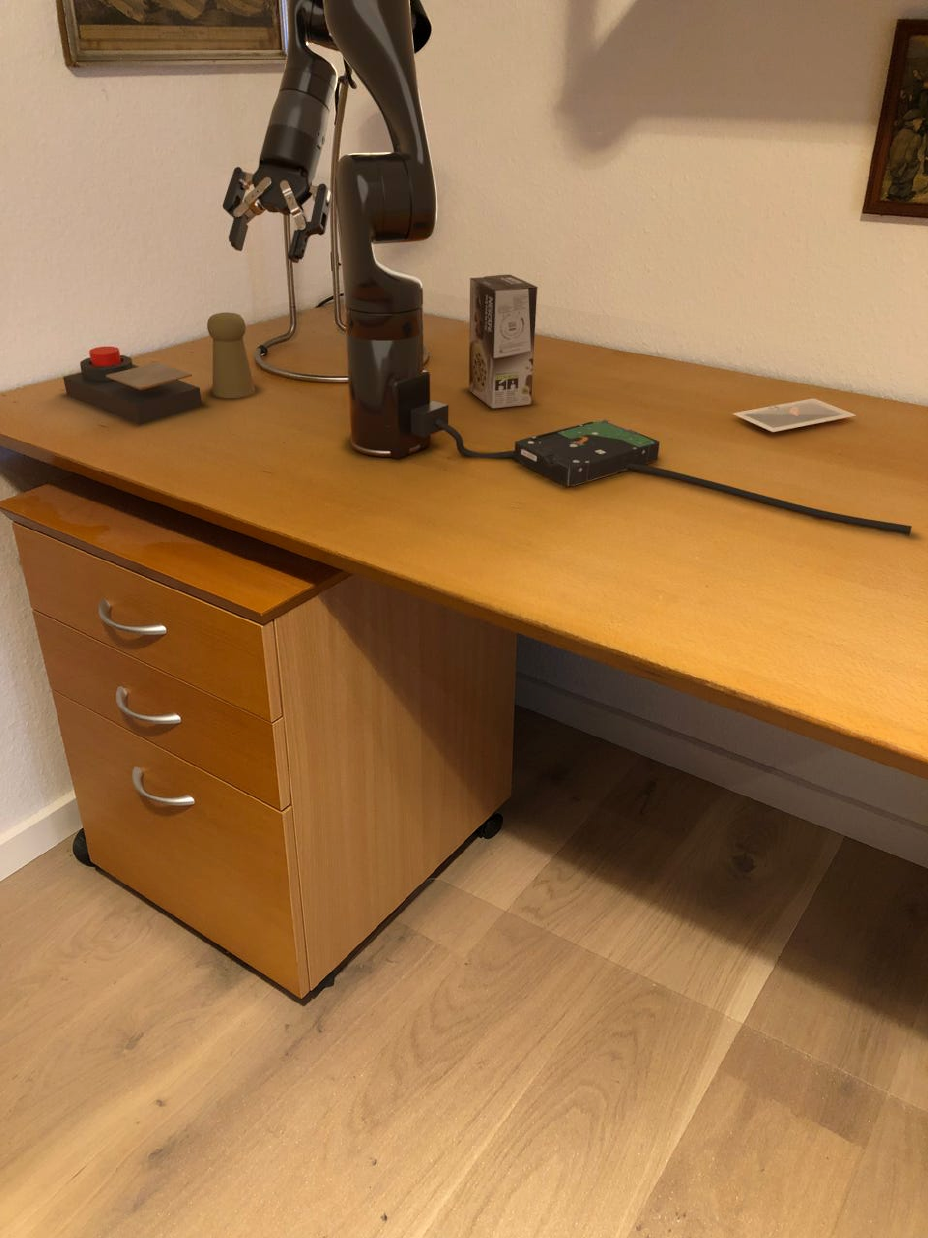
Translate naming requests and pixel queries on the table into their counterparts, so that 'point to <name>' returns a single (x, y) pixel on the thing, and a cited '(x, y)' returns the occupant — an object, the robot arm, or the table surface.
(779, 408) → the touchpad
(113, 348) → the button
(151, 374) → the plate
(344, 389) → the table surface
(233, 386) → the olive pawn piece
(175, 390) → the machine
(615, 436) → the disk drive
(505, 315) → the coffee box
